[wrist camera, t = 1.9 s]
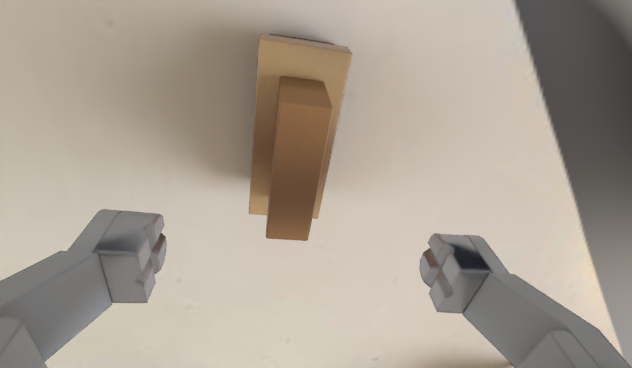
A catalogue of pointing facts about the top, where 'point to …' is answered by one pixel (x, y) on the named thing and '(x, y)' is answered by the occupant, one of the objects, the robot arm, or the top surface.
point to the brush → (294, 130)
